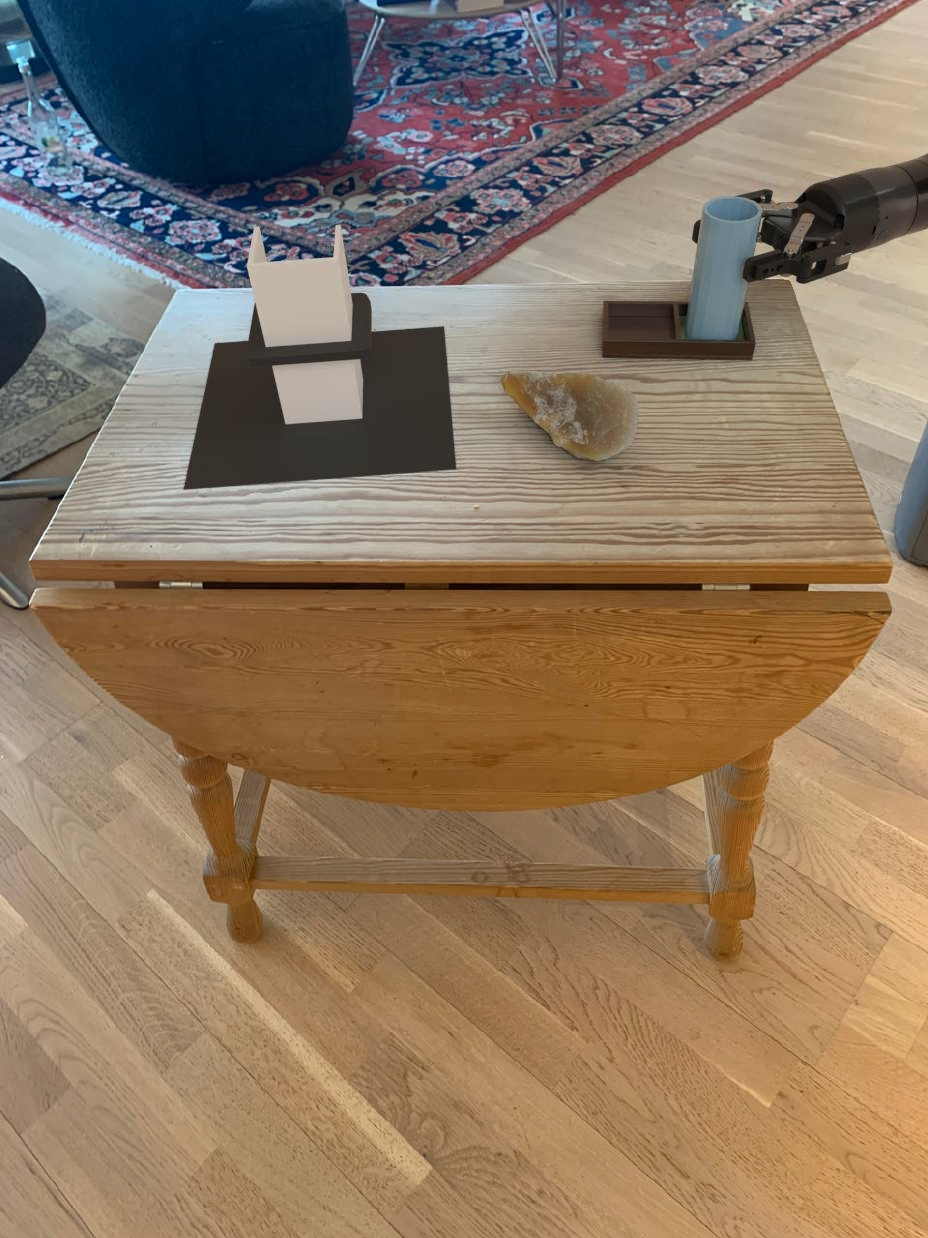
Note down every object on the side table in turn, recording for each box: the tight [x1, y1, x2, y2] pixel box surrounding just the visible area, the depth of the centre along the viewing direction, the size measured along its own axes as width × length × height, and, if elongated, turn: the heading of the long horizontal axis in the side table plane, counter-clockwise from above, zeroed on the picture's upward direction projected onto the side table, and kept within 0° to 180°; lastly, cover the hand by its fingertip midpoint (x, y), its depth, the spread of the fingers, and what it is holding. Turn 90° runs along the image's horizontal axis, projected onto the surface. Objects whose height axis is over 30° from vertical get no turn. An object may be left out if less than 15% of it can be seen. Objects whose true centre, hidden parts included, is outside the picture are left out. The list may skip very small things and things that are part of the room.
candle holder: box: [183, 224, 457, 490], centre depth 86 cm, size 25×24×16 cm
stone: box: [500, 369, 640, 462], centre depth 85 cm, size 7×6×15 cm
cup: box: [685, 195, 763, 340], centre depth 92 cm, size 5×5×13 cm
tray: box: [601, 300, 757, 361], centre depth 96 cm, size 8×15×2 cm, turn 84°
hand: (719, 251), depth 89 cm, fingers open, 8 cm apart
